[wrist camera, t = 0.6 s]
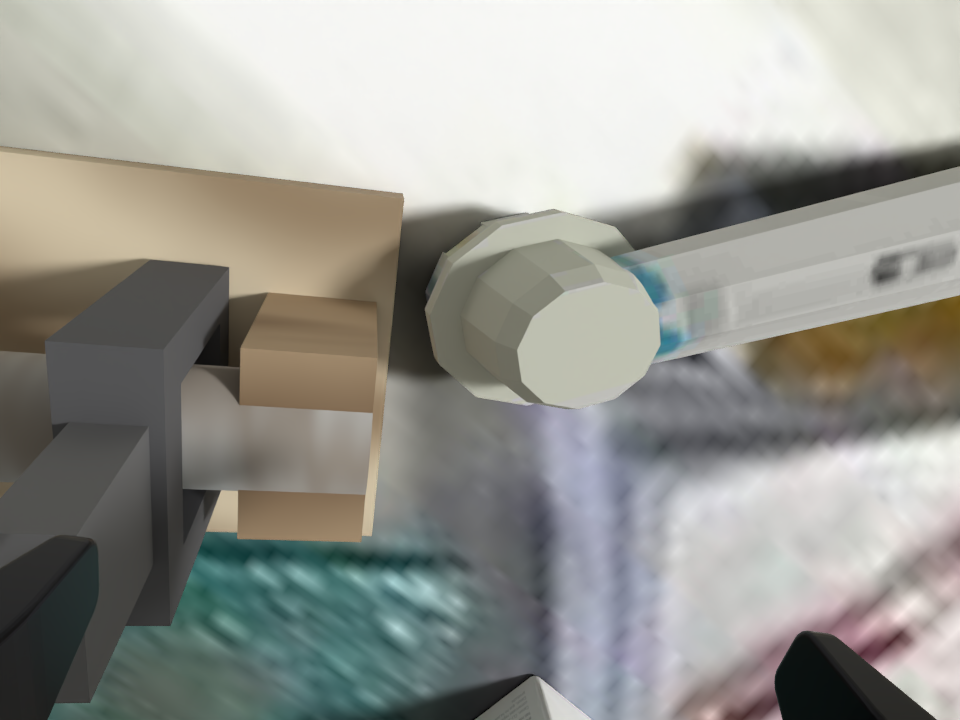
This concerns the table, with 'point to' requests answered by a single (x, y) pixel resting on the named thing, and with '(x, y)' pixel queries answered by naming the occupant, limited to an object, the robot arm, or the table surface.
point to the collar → (123, 451)
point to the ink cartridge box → (533, 704)
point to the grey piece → (677, 289)
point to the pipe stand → (252, 325)
